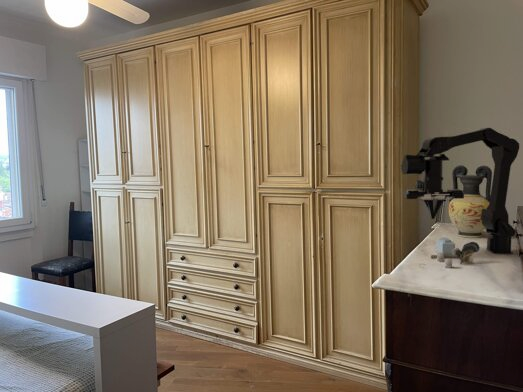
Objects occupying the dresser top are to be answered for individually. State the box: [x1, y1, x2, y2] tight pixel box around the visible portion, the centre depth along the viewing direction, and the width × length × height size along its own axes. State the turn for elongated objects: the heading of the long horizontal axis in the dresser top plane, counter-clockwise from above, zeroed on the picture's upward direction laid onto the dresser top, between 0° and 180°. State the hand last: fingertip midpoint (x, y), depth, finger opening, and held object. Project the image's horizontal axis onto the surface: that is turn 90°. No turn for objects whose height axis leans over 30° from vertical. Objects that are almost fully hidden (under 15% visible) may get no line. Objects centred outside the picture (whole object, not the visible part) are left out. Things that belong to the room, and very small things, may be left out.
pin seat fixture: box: [430, 252, 460, 269], centre depth 134 cm, size 10×19×2 cm, turn 173°
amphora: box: [448, 164, 493, 239], centre depth 172 cm, size 18×17×30 cm
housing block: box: [435, 237, 456, 255], centre depth 141 cm, size 4×7×5 cm, turn 173°
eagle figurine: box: [451, 241, 481, 265], centre depth 131 cm, size 8×7×9 cm
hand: (432, 218), depth 142 cm, fingers closed
